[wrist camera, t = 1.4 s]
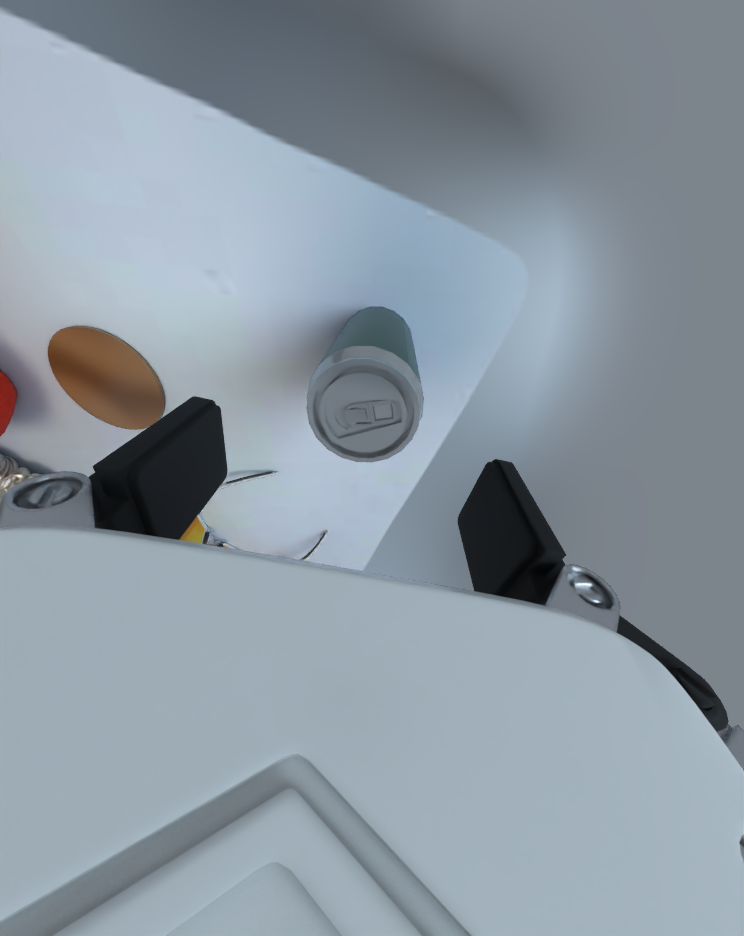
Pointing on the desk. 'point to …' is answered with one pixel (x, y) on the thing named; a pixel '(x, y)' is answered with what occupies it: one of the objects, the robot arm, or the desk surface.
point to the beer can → (367, 388)
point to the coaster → (106, 377)
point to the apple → (6, 401)
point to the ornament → (11, 474)
